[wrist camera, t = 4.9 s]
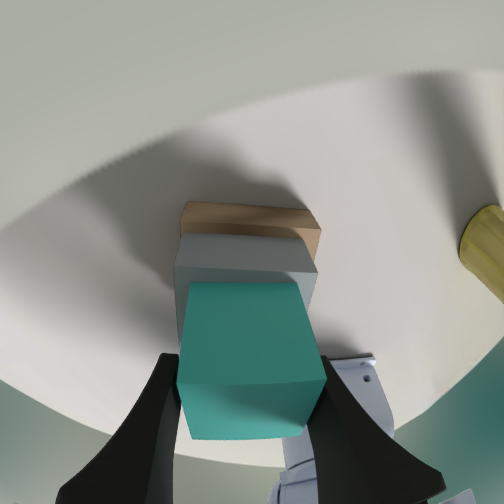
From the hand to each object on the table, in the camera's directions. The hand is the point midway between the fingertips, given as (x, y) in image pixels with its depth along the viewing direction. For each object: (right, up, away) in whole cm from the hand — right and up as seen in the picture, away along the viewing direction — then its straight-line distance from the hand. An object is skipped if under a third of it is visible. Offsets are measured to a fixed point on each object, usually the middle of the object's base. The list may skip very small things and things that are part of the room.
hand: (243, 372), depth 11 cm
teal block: (0, +1, +2) cm, 3 cm away
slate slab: (0, +3, +5) cm, 6 cm away
